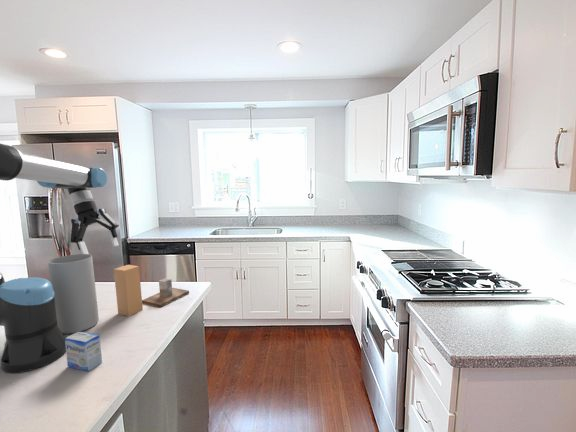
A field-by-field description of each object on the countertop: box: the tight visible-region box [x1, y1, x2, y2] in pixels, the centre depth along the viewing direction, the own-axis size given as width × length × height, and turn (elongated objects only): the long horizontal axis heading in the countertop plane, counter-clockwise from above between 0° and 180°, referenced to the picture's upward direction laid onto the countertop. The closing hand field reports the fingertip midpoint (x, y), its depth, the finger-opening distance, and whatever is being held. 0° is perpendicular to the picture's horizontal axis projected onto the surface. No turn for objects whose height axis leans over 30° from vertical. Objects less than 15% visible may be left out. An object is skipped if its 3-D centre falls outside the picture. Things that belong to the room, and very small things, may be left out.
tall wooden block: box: [113, 264, 143, 317], centre depth 118 cm, size 6×6×18 cm
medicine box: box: [65, 331, 103, 372], centre depth 84 cm, size 8×4×9 cm, turn 73°
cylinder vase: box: [47, 253, 100, 335], centre depth 107 cm, size 12×12×25 cm
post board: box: [142, 277, 190, 308], centre depth 131 cm, size 16×11×8 cm
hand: (101, 251), depth 124 cm, fingers open, 13 cm apart
